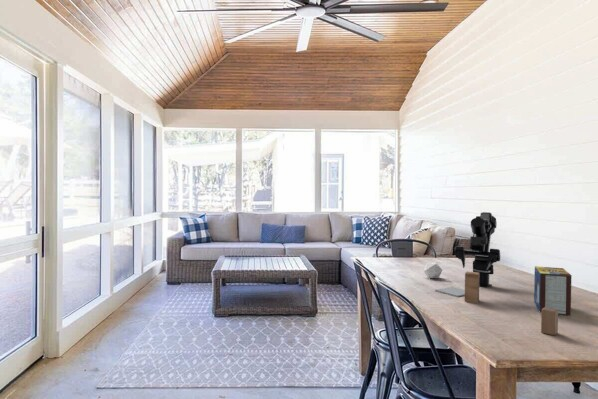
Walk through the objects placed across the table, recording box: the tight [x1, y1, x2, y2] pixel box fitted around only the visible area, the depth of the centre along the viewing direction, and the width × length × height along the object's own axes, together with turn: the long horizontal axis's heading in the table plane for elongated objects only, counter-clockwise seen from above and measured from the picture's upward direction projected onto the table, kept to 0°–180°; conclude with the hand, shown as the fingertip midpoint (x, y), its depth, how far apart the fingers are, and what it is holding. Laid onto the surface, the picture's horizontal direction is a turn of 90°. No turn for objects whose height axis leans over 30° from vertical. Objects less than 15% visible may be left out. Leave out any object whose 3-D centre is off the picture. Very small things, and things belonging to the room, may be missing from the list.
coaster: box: [435, 286, 465, 298], centre depth 182 cm, size 12×12×1 cm
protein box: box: [533, 265, 572, 316], centre depth 157 cm, size 10×15×16 cm
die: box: [423, 262, 443, 279], centre depth 212 cm, size 8×9×10 cm
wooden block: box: [540, 307, 559, 336], centre depth 129 cm, size 4×4×8 cm
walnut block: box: [464, 271, 480, 304], centre depth 167 cm, size 5×5×12 cm
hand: (474, 268), depth 173 cm, fingers open, 9 cm apart
